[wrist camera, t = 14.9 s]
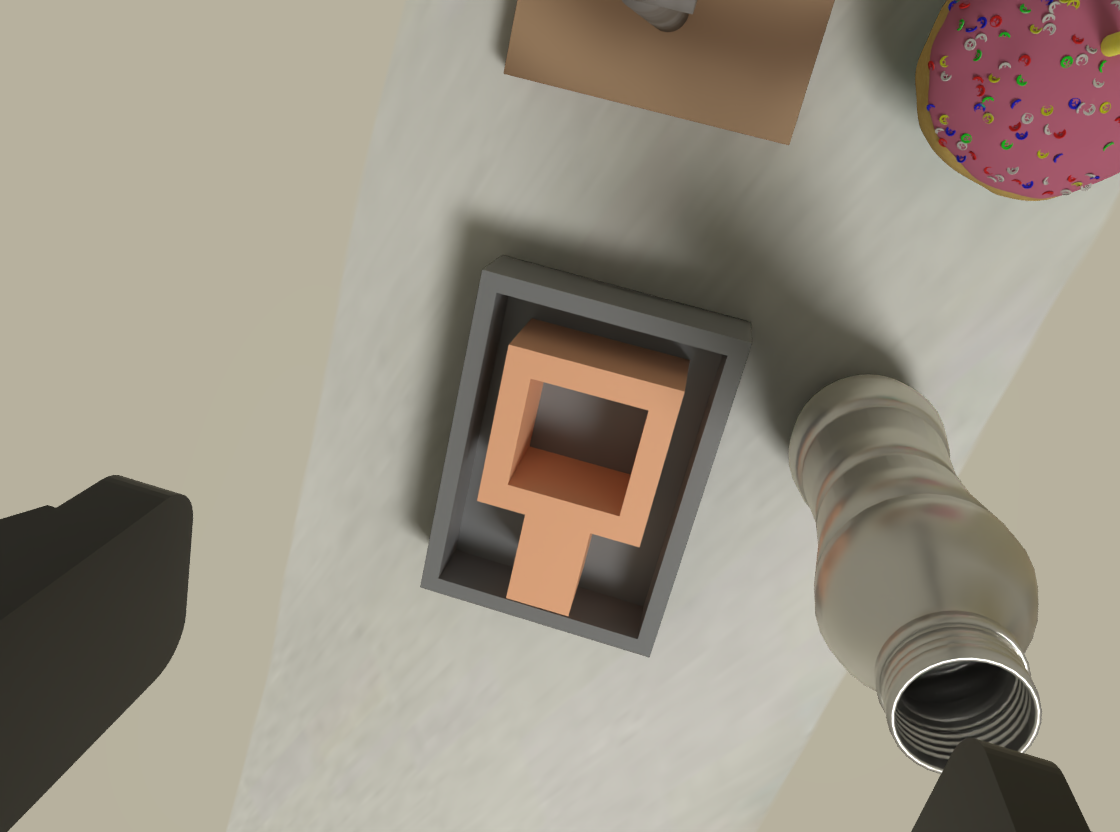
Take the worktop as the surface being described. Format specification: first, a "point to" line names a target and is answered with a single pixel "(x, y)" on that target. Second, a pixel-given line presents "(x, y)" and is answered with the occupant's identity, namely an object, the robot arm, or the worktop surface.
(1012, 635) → the plastic bottle
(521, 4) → the stake stand
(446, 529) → the tray
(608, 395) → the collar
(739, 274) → the worktop surface
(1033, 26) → the cupcake
